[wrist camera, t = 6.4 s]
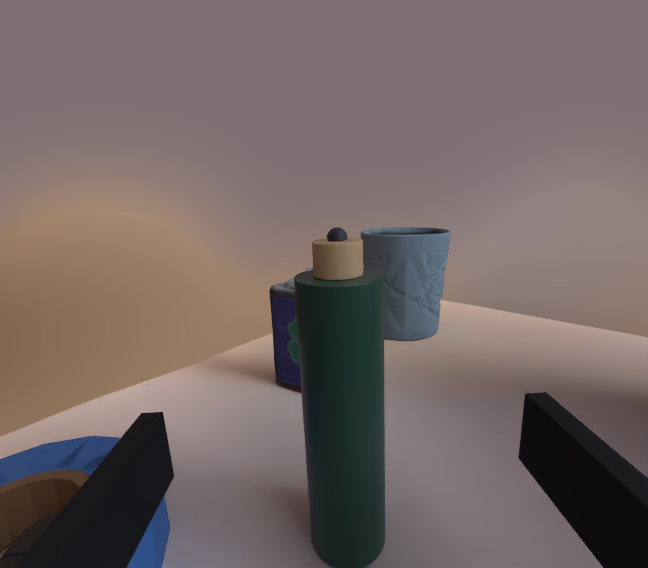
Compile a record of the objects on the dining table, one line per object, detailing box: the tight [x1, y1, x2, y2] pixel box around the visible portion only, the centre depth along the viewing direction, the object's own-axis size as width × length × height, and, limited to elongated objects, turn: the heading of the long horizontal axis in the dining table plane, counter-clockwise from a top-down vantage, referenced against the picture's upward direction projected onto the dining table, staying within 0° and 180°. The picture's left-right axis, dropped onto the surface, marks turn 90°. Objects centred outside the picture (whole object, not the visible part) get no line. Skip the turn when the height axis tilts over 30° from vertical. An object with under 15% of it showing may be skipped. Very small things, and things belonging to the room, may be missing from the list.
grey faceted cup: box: [361, 228, 451, 341], centre depth 42 cm, size 10×10×12 cm
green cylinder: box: [294, 228, 385, 568], centre depth 15 cm, size 4×4×15 cm
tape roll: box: [0, 436, 170, 568], centre depth 15 cm, size 12×12×3 cm
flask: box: [270, 267, 313, 392], centre depth 29 cm, size 9×3×11 cm, turn 68°
